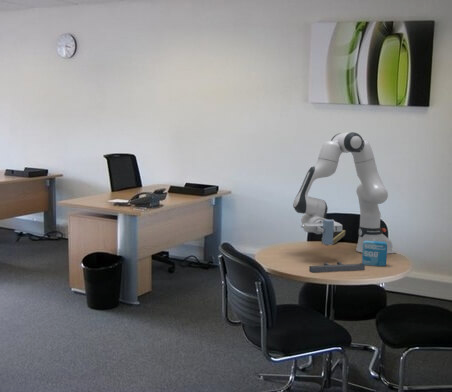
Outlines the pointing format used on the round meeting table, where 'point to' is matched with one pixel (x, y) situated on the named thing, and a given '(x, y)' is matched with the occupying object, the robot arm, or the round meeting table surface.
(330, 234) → the square post
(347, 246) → the round meeting table surface
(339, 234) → the box
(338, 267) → the rail bracket
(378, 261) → the blue printed carton
